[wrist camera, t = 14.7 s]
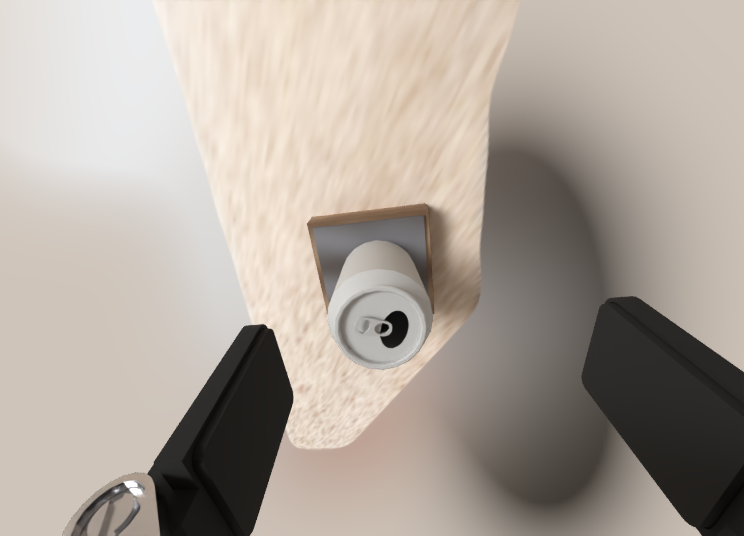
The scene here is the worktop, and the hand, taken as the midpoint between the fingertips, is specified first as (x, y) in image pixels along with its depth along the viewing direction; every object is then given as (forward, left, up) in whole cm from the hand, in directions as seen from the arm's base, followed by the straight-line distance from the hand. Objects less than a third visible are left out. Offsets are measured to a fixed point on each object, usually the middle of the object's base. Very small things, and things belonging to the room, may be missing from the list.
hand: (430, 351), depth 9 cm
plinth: (+7, -3, -25) cm, 26 cm away
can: (+7, -3, -21) cm, 23 cm away
